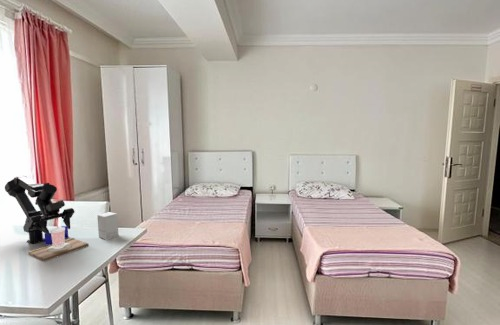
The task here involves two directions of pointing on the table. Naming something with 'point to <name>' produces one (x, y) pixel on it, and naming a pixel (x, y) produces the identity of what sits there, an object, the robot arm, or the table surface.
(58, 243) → the beverage cup
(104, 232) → the supplement box
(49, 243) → the cable clip
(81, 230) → the table surface
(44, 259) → the board
